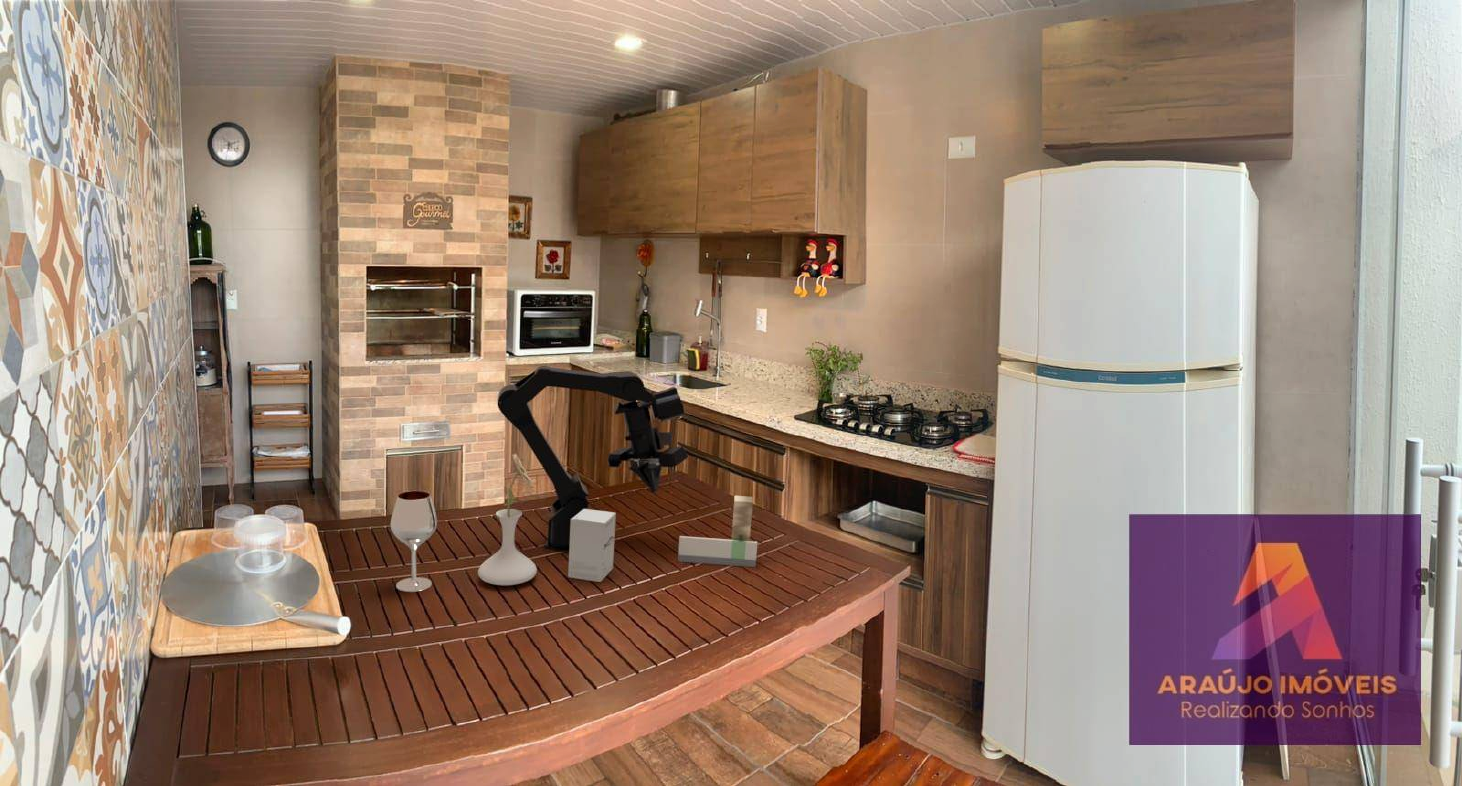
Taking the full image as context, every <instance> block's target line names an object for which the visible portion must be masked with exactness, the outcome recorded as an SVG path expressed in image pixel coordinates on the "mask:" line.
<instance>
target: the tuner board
mask: <svg viewBox="0 0 1462 786" xmlns="http://www.w3.org/2000/svg"><path fill="white" fill-rule="evenodd" d="M757 552H758V541H753V540H750V541H741V540H731V539H729V538H728V539H726V538H713V537H711V538H709V537H699V536H685V535H679V539H678V553H677V554H678V555H677V562H683V563H695V564H707V565H720V566H735V567H748V568H756V564H757Z"/></svg>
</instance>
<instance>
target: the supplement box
mask: <svg viewBox="0 0 1462 786" xmlns="http://www.w3.org/2000/svg"><path fill="white" fill-rule="evenodd" d="M616 514H617V513H616V512H613V511H607V510H606V511H605V510H598V509H597V510H596V509H590V508H588V509H583V510H582V511H580V512H579V513H578V514H577V515H575V516H574V517H573V518H572V519H571V525H570V547H569V552H568V553H569V554H568V571H567V572H568V573H567V577H568V578H570V579H571V578H572V579H578V580H583V581H591V582H598V583H601V582H602V581H603V580H604V579H605V577H606V576H608V574H609V573H610V572H611V571H612V570H613V568H614V555H615V554H614V553H615V535H616Z"/></svg>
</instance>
